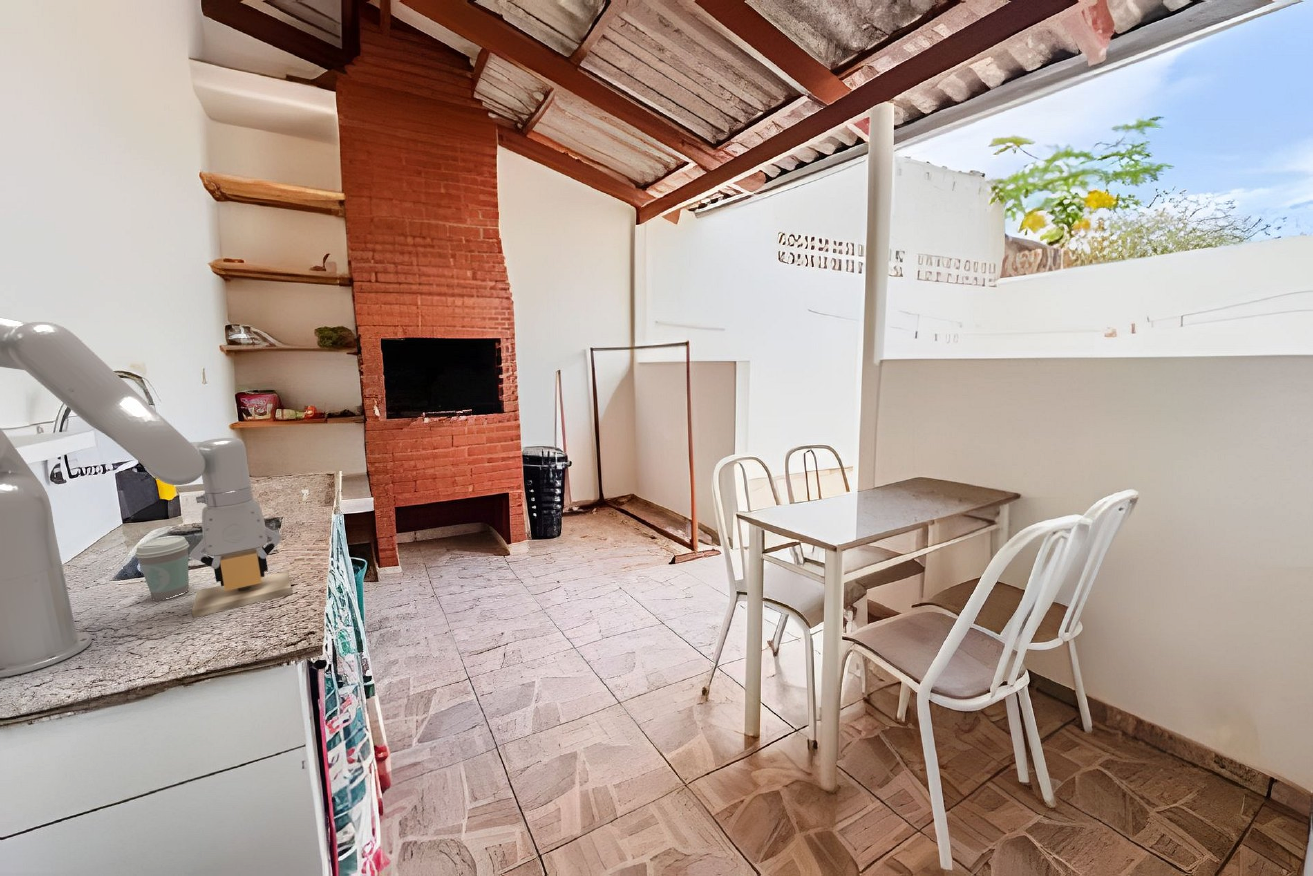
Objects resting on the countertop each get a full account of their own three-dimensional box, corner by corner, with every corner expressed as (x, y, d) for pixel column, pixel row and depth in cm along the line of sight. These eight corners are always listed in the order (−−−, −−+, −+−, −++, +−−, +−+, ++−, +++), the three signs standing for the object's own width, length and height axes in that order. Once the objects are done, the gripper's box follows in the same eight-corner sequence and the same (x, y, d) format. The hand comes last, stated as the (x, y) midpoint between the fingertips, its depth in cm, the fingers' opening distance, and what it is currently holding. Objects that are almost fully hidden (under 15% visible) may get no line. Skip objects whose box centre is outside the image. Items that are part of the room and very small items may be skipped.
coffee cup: (136, 599, 112) (126, 545, 110) (186, 583, 119) (177, 533, 118) (154, 606, 108) (143, 551, 106) (204, 590, 115) (195, 538, 114)
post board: (193, 617, 102) (188, 589, 101) (198, 597, 112) (194, 570, 111) (291, 594, 112) (288, 567, 111) (289, 576, 121) (285, 552, 120)
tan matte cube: (225, 591, 107) (220, 561, 106) (226, 581, 112) (221, 553, 111) (261, 582, 111) (256, 553, 110) (261, 574, 116) (256, 546, 115)
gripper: (171, 509, 101) (187, 597, 103) (281, 493, 111) (293, 573, 113) (176, 502, 107) (191, 585, 109) (279, 487, 117) (291, 563, 119)
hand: (243, 578), depth 111 cm, fingers closed on tan matte cube, 5 cm apart
